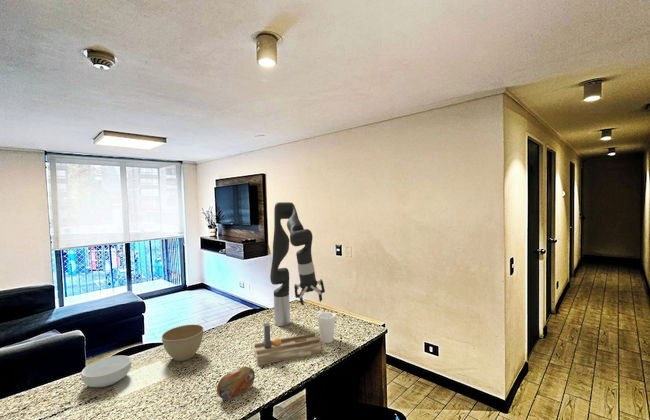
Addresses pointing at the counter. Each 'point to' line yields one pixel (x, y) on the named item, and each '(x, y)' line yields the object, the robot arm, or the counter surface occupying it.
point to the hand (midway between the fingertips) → (311, 302)
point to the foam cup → (326, 326)
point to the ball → (276, 342)
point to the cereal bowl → (106, 371)
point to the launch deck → (287, 349)
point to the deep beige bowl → (182, 341)
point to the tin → (235, 383)
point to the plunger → (267, 336)
